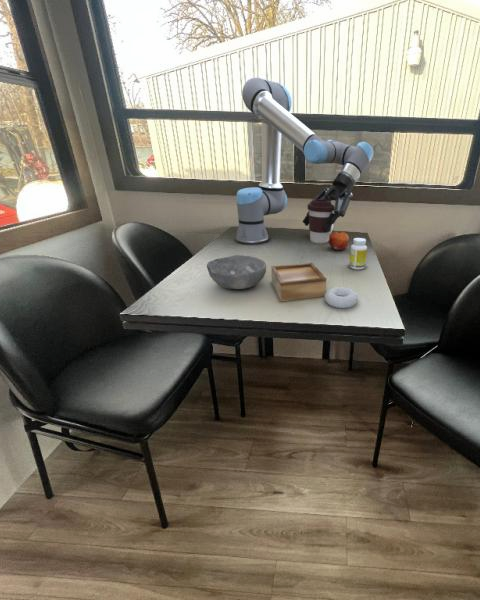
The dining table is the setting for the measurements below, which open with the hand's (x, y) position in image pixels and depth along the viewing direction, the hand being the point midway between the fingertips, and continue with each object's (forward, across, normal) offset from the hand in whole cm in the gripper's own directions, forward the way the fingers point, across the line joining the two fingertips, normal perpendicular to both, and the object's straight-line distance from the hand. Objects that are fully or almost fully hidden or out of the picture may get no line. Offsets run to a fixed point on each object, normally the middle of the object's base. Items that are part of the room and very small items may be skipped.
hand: (314, 226), depth 110 cm
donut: (+22, -29, +1) cm, 36 cm away
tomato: (-6, +8, -27) cm, 29 cm away
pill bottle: (+2, -13, -19) cm, 23 cm away
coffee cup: (+2, 0, -6) cm, 7 cm away
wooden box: (+24, -14, +4) cm, 28 cm away
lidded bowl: (-11, +27, -33) cm, 44 cm away
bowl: (+34, 0, +12) cm, 36 cm away
